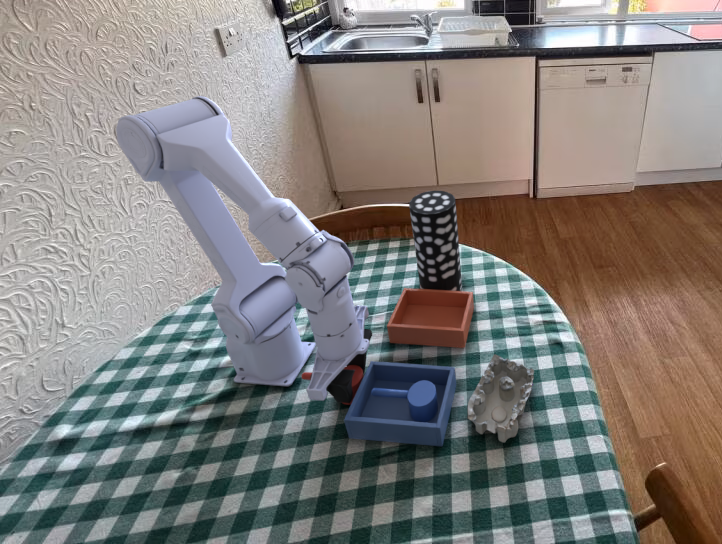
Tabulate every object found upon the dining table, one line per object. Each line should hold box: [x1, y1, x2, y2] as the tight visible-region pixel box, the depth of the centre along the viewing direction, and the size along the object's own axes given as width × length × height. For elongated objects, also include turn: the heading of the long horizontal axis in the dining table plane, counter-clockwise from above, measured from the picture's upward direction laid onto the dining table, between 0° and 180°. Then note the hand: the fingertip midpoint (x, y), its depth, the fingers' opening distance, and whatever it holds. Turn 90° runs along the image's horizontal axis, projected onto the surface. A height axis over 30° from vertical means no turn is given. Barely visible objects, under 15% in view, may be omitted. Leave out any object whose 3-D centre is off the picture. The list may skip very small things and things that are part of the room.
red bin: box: [386, 287, 475, 349], centre depth 74 cm, size 13×9×4 cm
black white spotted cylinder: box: [408, 190, 463, 291], centre depth 79 cm, size 8×8×20 cm
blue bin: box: [343, 360, 457, 447], centre depth 60 cm, size 13×9×4 cm
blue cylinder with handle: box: [371, 380, 438, 422], centre depth 60 cm, size 10×4×4 cm, turn 85°
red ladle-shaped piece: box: [300, 365, 365, 406], centre depth 63 cm, size 10×4×4 cm, turn 85°
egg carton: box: [467, 354, 535, 444], centre depth 60 cm, size 11×8×4 cm
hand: (351, 386), depth 63 cm, fingers closed on red ladle-shaped piece, 4 cm apart
